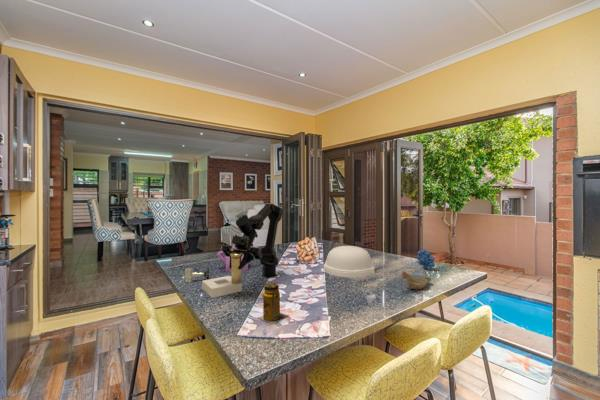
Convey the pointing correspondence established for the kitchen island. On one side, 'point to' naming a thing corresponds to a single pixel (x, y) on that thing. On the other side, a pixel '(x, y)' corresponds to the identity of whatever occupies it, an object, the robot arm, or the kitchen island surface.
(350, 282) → the kitchen island surface
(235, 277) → the brass bushing
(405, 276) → the oil lamp
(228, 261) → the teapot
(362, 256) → the dome cover
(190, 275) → the valve
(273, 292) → the condiment
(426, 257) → the grapes
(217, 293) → the jig plate
